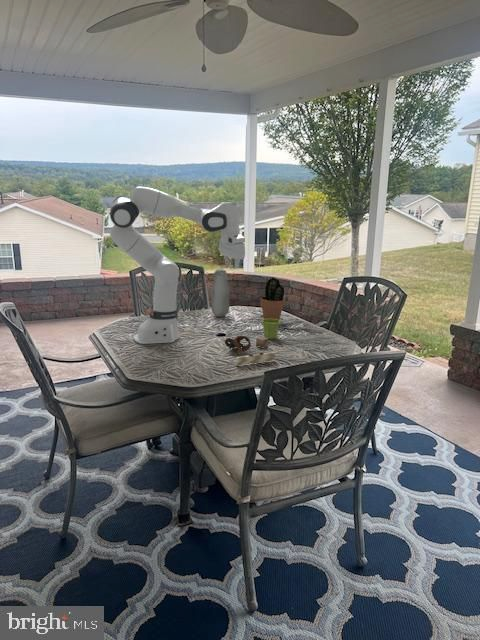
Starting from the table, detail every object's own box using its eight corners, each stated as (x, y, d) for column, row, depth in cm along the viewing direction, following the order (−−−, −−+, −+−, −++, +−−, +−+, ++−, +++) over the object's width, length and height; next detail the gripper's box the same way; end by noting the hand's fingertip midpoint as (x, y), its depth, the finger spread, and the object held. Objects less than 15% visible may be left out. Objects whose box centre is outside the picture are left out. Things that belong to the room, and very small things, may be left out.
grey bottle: (219, 313, 274) (219, 267, 267) (232, 316, 268) (233, 269, 261) (208, 316, 267) (208, 269, 260) (220, 319, 261) (221, 271, 253)
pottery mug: (248, 348, 214) (253, 336, 209) (246, 362, 207) (251, 350, 202) (223, 341, 213) (227, 329, 207) (220, 356, 206) (225, 343, 200)
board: (237, 367, 188) (238, 356, 186) (235, 365, 189) (236, 355, 188) (275, 361, 195) (275, 351, 194) (273, 360, 197) (273, 350, 196)
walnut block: (262, 348, 213) (262, 340, 212) (255, 346, 216) (256, 338, 215) (267, 346, 216) (268, 338, 215) (261, 344, 218) (261, 336, 217)
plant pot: (257, 338, 228) (258, 321, 226) (265, 333, 236) (266, 317, 234) (275, 341, 224) (275, 324, 222) (282, 336, 232) (283, 320, 230)
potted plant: (257, 322, 257) (258, 278, 251) (262, 316, 270) (264, 275, 263) (280, 324, 253) (283, 280, 247) (285, 319, 266) (287, 276, 259)
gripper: (215, 235, 221) (216, 263, 226) (234, 240, 204) (236, 270, 208) (226, 234, 224) (228, 261, 228) (246, 238, 207) (248, 268, 211)
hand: (232, 266), depth 218 cm, fingers open, 8 cm apart
